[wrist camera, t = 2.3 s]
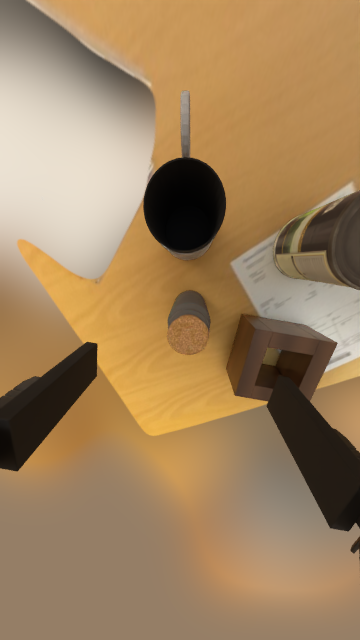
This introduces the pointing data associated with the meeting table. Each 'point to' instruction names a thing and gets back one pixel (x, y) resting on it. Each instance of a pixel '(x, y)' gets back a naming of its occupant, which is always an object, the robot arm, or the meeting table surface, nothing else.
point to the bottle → (188, 323)
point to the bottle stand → (294, 361)
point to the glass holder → (185, 200)
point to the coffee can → (323, 244)
